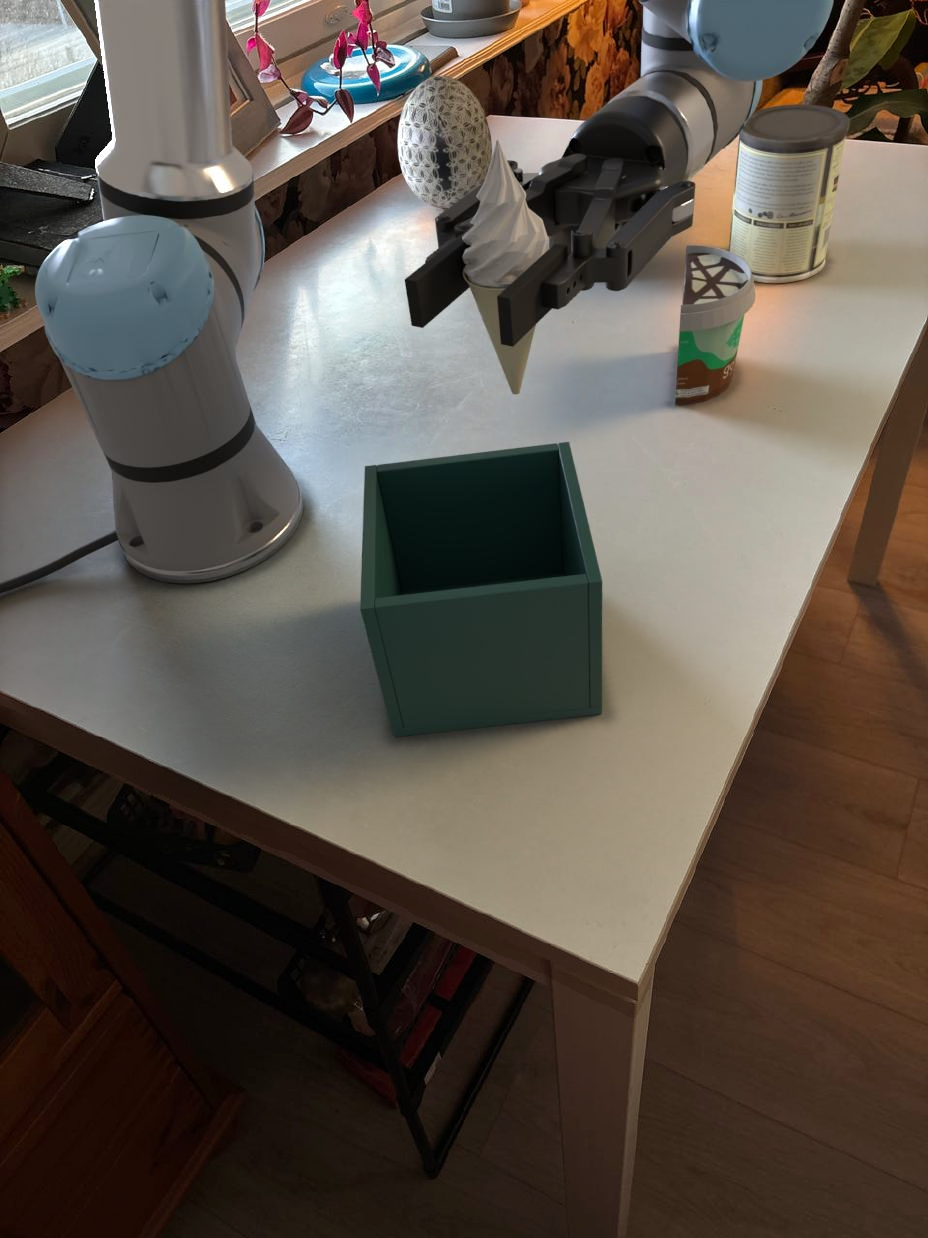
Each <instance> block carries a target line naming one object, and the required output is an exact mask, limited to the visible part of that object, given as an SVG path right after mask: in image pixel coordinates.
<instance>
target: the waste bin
mask: <svg viewBox="0 0 928 1238" xmlns="http://www.w3.org/2000/svg"><path fill="white" fill-rule="evenodd" d="M363 479H364V480H363V481H364V482H363V509H362V542H361V543H362V546H361V570H360V571H361V573H360V574H361V575H360V577H361V578H360V603H359V605H360V606H359V610H360V614H361V617H362V622H363V625H364V630H365V633H366V637H367V641H368V644H369V648H370V651H371V656H372V660H373V665H374V667H375V672H376V676H377V679H378V683H379V687H380V691H381V695H382V699H383V703H384V706H385V710H386V714H387V718H388V722H389V725H390V729H391V733H392V736H393V737H394V738H397V737H404V736H406V737H407V736H415V735H424V734H425V735H426V734H434V733H442V732H443V733H444V732H451V731H460V730H469V729H477V728H478V729H479V728H486V727H487V728H488V727H497V726H506V725H514V724H525V723H533V722H540V721H550V720H559V719H560V720H561V719H569V718H576V717H577V718H578V717H588V716H596V715H602V714H603V579H602V573H601V570H600V565H599V560H598V557H597V552H596V548H595V544H594V540H593V537H592V532H591V527H590V524H589V519H588V515H587V512H586V507H585V503H584V499H583V498H584V497H583V494H582V489H581V485H580V482H579V477H578V473H577V469H576V465H575V461H574V457H573V453H572V448H571V443H570V441H565V442H558V443H555V442H554V443H546V444H538V445H531V446H529V445H528V446H521V447H514V448H506V449H495V450H488V451H482V452H481V451H480V452H471V453H464V454H455V455H447V456H440V457H432V458H424V459H423V458H422V459H416V460H415V459H414V460H407V461H397V462H390V463H381V464H372V465H365V466H364V477H363Z"/></svg>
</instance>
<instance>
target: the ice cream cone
mask: <svg viewBox="0 0 928 1238" xmlns="http://www.w3.org/2000/svg"><path fill="white" fill-rule="evenodd" d="M476 197H477V198H478V199H479V200H480V201H481V202H480V206H479V208H478V211H477V213H476V215H475V216H474V217H473V219H472V220H471V221H470V222H469V223H471V224H474V226H473V227H472V228H471V229H470V230H469V231H468V232H466V233H465V234H464V235H463V237H462V240H463V241H464V242H465V243H466V244H467V245H470V246H471V247H469V248H467V249H465V252H464V254H463V257H462V258H463V262H464V263H465V264H466V266H465V268H464V270H463V277H464V279H465V280H466V282H468V284H469V287H470V288H469V289H470V292H471V294H472V297H473V299H474V301H475V302H474V303H475V304H476V306H477V309H478V312H479V315H480V317H481V321H482V322H483V325H484V327H485V329H486V332H487V334H488V337H489V339H490V342H491V344H492V347H493V349H494V352H495V355H496V357H497V360H498V362H499V364H500V366H501V369H502V372H503V374H504V376H505V379H506V381H507V384H508V386H509V389H510V392H511V394H512V395H519V394H520V393H521V389H522V386H523V381H524V377H525V372H526V368H527V363H528V360H529V356H530V351H531V348H532V344H533V339H534V334H535V330H536V326H537V324H536V325H535V326H534V327H533V328H532V329H531V330H530V331H529V332H528V333H527V334H526V335H525V336H524V337H523V338H522V339H521V340H520V341H519V342H518V343H517V344H516V345H515V346H514V347H511V346H507V345H502V344H501V339H500V327H499V315H498V303H497V296H498V295H499V294H500V293H501V292H502V291H504V290H505V289H506V288H507V287H508V286H509V285H510V284H511V283H512V282H514V281H515V280H516V279H517V278H518V277H519V276H520V275H521V274H522V273H523V272H525V271H526V270H527V269H528V268H529V267H530V266H531V265H532V264H533V263H534V262H536V261H537V260H538V259H539V258H540V257H541V256H542V255H543V254H544V253H545V252H547V251H548V250H549V236H547V233H546V230H545V227H544V223H543V220H542V219H541V218H540V217H539V216H538V215H536V214H535V213H534V212H533V211H531V210H530V209H529V208H528V206H527V203H526V200H525V198H526V192H525V191H524V189H523V188H522V186H521V185H520V184H519V182H518V181H517V179H516V178H515V176H514V174H513V171H512V169H511V167H510V165H509V163H508V159H507V158H506V155H505V154H504V151H503V149H502V146H501V143H500V141H499V139H496V141H495V145H494V149H493V151H492V159H491V163H490V166H489V169H488V173H487V176H486V179H485V182H484V184H483V185H482V187H481V189H480V191H479V192H478V194H477V196H476Z"/></svg>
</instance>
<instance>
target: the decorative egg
mask: <svg viewBox="0 0 928 1238" xmlns="http://www.w3.org/2000/svg"><path fill="white" fill-rule="evenodd" d="M396 140H397V143H396V144H397V156H398V161H399V162H398V163H399V166H400V170H401V172H402V176H403V177H404V179H405V182H406V184H407V186H408V187H409V188H410V189H411V191H412V192H413V193H414V195H415V196H416V197H418V198H419V200H421V201H423V202H424V203H426V204H428V205H430V206H432V207H435V208H440V209H448V208H450V207H451V206H452V205H454V204H455V203H456V202H458V201H459V200H460V199H462V198H463V197H465V196H466V195H467V194H469V193H470V192H471V191H473V190H474V189H476V188H477V187H478V186H480V185H481V184H482V183H484V182H485V179H486V176H487V173H488V169H489V166H490V163H491V159H492V156H493V145H492V142H493V141H492V136H491V130H490V126H489V123H488V119H487V116H486V113H485V111H484V109H483V107H482V104H481V103H480V101H479V99H478V98H477V96H476V95H475V94H474V93H473V92H472V90H470V88H469V87H468V86H466V85H465V83H463V82H461V81H460V80H458V79H456V78H454V77H451V76H449V75H435V76H431V77H428V78H427V79H425V80H423V81H421V83H419V84H418V85H417V86H416V87H415V88H414V90H413V91H412V92H411V93H410V95H409V96H408V97H407V99H406V101H405V103H404V105H403V108H402V110H401V113H400V118H399V122H398V128H397V139H396Z"/></svg>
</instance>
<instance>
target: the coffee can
mask: <svg viewBox="0 0 928 1238" xmlns="http://www.w3.org/2000/svg"><path fill="white" fill-rule="evenodd" d="M850 125H851V120H850V117H849V116H848V115H847V114H846V113H844V112H843V111H841V110H839V109H835V108H832V107H829V106H824V105H817V104H816V105H815V104H806V103H805V104H801V103H800V104H798V103H797V104H783V105H774V106H770V107H765V108H761V109H759V110H755V111H754V112H753V114H752V115H751V117H750V118H749V120H748V121H747V122H746V124H745V126H744V127H743V129H742V130H741V132H740V134H739V135H738V144H737V157H736V167H735V177H734V188H733V189H734V190H733V201H732V209H731V210H732V211H731V221H730V231H729V240H728V241H729V242H728V251H729V252H732V253H734V254H736V255H738V256H739V257H741V258H742V259H744V260H745V261H746V262H747V263H748V265H749V267H750V269H751V273H752V274H753V278H754V282H758V283H764V284H785V283H792V282H798V281H803V280H806V279H808V278H811V277H813V276H815V275H817V274H819V273H820V272H821V271H822V270H823V269H824V267H825V264H826V255H827V250H828V249H827V248H828V244H829V238H830V232H831V227H832V222H833V221H832V220H833V214H834V210H835V209H834V208H835V204H836V203H835V202H836V197H837V191H838V185H839V178H840V174H841V169H842V168H841V167H842V164H843V163H842V162H843V157H844V149H845V143H846V138H847V133H848V132H849V130H850Z"/></svg>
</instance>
